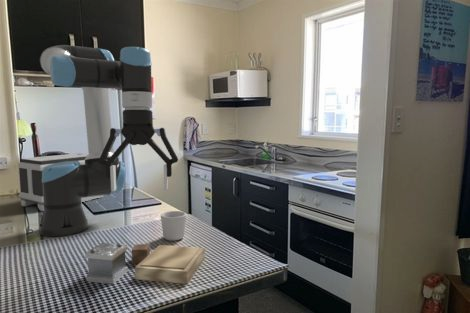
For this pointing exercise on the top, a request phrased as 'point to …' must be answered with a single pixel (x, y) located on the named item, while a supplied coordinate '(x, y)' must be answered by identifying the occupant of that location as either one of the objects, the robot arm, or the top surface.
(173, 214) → the cup
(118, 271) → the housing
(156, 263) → the tan square tray
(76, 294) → the top surface
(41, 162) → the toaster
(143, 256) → the walnut block
